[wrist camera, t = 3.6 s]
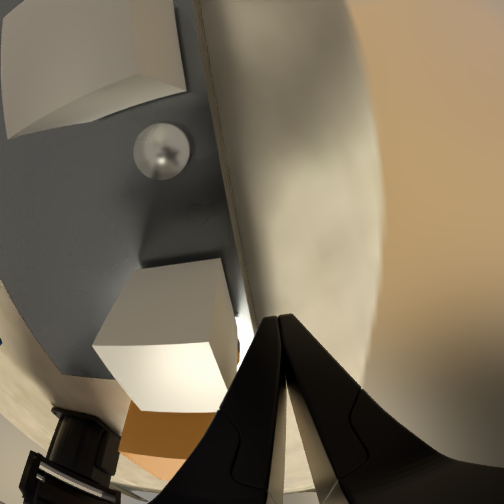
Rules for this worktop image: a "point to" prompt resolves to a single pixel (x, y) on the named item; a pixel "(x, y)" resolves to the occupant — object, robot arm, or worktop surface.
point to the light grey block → (172, 338)
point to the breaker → (85, 60)
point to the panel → (118, 208)
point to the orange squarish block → (162, 439)
